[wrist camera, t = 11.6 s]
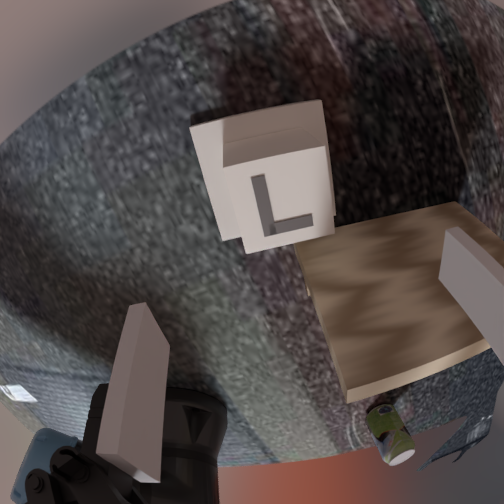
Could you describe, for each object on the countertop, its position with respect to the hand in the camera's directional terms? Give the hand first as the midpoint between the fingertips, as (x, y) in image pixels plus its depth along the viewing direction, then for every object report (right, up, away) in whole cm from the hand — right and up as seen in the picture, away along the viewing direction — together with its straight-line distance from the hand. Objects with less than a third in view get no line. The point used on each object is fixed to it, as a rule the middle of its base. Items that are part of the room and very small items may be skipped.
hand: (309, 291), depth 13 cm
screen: (+11, +2, +17) cm, 20 cm away
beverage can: (+21, -27, +37) cm, 51 cm away
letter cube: (-1, +8, +11) cm, 14 cm away
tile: (-1, +8, +12) cm, 15 cm away
